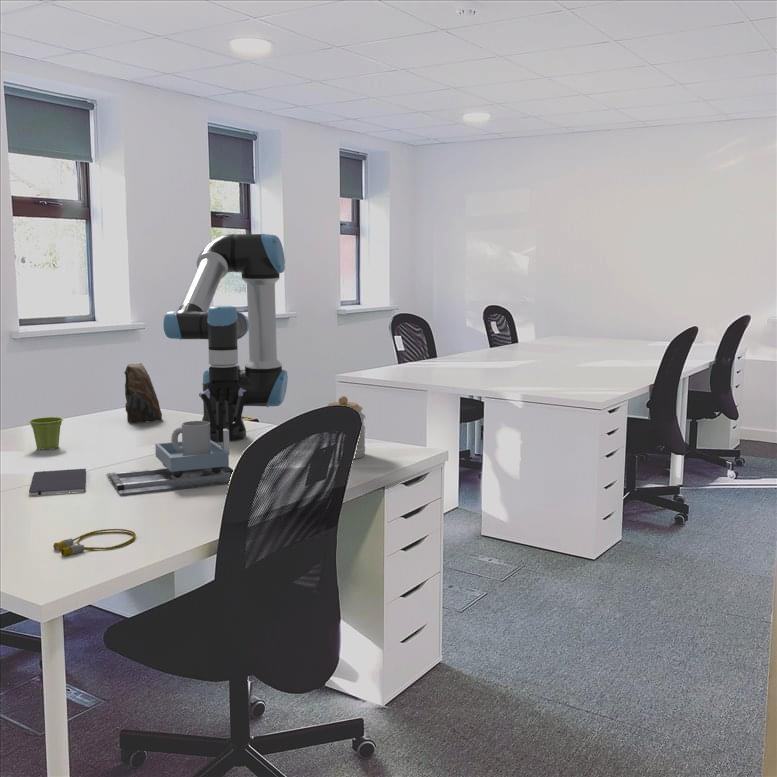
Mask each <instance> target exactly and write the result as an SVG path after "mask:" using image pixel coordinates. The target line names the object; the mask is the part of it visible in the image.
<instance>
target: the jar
mask: <svg viewBox="0 0 777 777" xmlns="http://www.w3.org/2000/svg"><path fill="white" fill-rule="evenodd" d="M332 405H343V406H348V407H351V408H353V409H355V410H356V411H357V412H358V413H359V414H360V416H361V420H362V427H361V433H360V438H359V441H358V445H357V450H356V454H355V459H354V460H356V459H360V458H364V456H365V452H366V445H365V444H366V439H365V436H366V431H365V430H366V426H365V423H364V420H365V418H366V415H365V414H364V413H363V412H362V411H363V407H362V406H361V405H359V404H358V403H356V402H351V401H348V397H346V396H343V395H341V396H339V398H338V401H335V402H329V403H328V404H327V405H326V406H332Z"/></svg>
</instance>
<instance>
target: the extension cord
mask: <svg viewBox="0 0 777 777" xmlns="http://www.w3.org/2000/svg"><path fill="white" fill-rule="evenodd" d="M99 534H101V535H102V534H128V535H130V536H132V537H131V538H130V539H128V540H127V541H125V542H122V543H120V544H117V545H113V546H107V547H97V546H96V547H94V546H93V547H92V546H89V547H88V546H85V545H84V544H80V542H81V541H82V539H84V538H86V537H88V536H89V537H90V536H93V535H99ZM136 537H137V536H136V533H135V531H133V530H131V529H129V530H128V529H123V528H108V529H100V530H94V531H91V532H87V533H84V534H82V535H80V536H77V537H75V538H73V539H72V538H67V539H63V540H61V541H60V542H54V543H53V550H54V551H58V550H59V552H60V553H61V556H62V557H64V558H65V557H67V556H74V555H77V554H79V553H81V552H84V551H85V550H88V551H91V552H100V551H101V550H103V551H106V550H107V551H108V550H115V549H118V548H122V547H124V546H127V545H129V544H132V543H133V542H134V541H135V539H136ZM75 541H77V542H76V543H77V544H74V542H75ZM70 545H71V546H70Z"/></svg>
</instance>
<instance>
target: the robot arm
mask: <svg viewBox="0 0 777 777" xmlns="http://www.w3.org/2000/svg"><path fill="white" fill-rule="evenodd" d="M282 244H283V243H282V242H281V239H280V238H279V236H277V235H276V234H268V233H267V234H266V233H255V234H254V233H252V234H251V233H249V234H246V233H245V234H244V233H240V234H237V233H236V234H235V233H229V234H224V235H221V236H219V237H217V238H216V239H214V240H212V241H211V242H210V243H208V244H207V245H206V246H205V247H204V248H203V249H202V250H201V251H200V253H199V255H198V257H197V259H196V269H195V272H194V275H193V276H192V279H191V281H190V284H189V286H188V288H187V291H186V292H185V295H184V297H183V299H182V301H181V303H180V306H179V307H178V309H177V310H173V311H168V312H166V313H165V315H164V316H163V322H162V323H163V331H164V334H165V337H167V338H168V339H172V340H173V339H175V340H180V341H181V340H207V341H208V365H210V366H209V367H208V368H207V369H205V370H204V371H203V374H202V384H201V385H202V391H201V392H199V394H198V396H199V397H200V399H201V400H202V401H203V405H202V406H203V414H202V415H203V417H202V419H201V421H207V422H210V440H212V441H213V442H214V443H220V447H221V448H223V449H224V450H226V451H227V452H228V453H229V455H230V442H237V441H241V440H244V439H246V438H247V429H246V426H245V424H244V420H243V418H242V416H243V411H244V407H266V408H269V407H279V406H281V405H282V404H283V402H284V400H285V397H286V393H287V388H288V381H289V380H288V371H287V370H285V369H283V364H282V363H281V362H280V360H278V357H277V356H278V354H277V319H276V318H277V317H276V315H277V313H276V312H277V311H276V283H277V282H278V280H280V274H282V273H284V272H285V269H286V265H285V264H286V260H285V259H286V258H285V252H284V248H283V245H282ZM228 273H241V279H242V280H243V282H245V284H246V290H247V291H246V293H247V298H246V299H247V316H246V315H245V314H243V313H242V312H239V311H237V308H236V307H235V306H231V305H220V306H219V305H217V306H214V305H213V306H211V304H212V302H213V299H214V297H215V294H216V292H217V290H218V287H219V285H220V282H221V280H222V279H224V277H226V276H227V274H228ZM246 334H248V349H249V351H248V354H249V360H248V361H247V362H246V363H245V364H244V369H241V367H240V365H239V353H238V340H240V339H241V338H243V337H244V336H245V335H246Z"/></svg>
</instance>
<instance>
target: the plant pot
mask: <svg viewBox="0 0 777 777" xmlns="http://www.w3.org/2000/svg"><path fill="white" fill-rule="evenodd" d="M63 420H64V419H63V417H57V416H55V417H53V416H49V417H47V416H46V417H38V418H33V419H30V420H28V423H29V424H30V426H31V428H32V431H33V436H34V440H35V445H36V449H38V450H39V449H40V451H41V450H46V451H49V450H55V449H57V448H59V446H60V435H61V426H62V421H63Z"/></svg>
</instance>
